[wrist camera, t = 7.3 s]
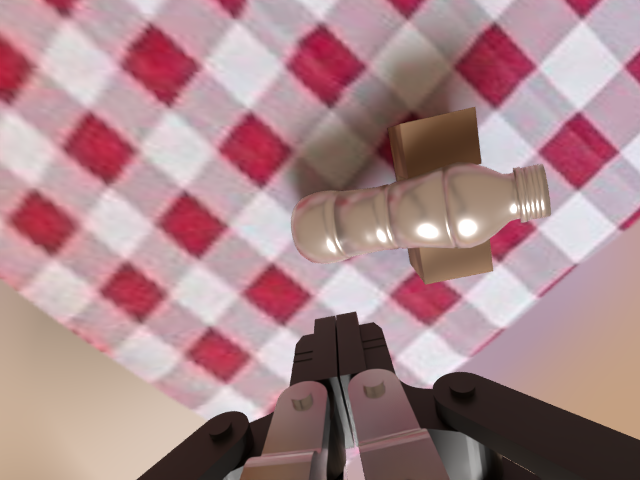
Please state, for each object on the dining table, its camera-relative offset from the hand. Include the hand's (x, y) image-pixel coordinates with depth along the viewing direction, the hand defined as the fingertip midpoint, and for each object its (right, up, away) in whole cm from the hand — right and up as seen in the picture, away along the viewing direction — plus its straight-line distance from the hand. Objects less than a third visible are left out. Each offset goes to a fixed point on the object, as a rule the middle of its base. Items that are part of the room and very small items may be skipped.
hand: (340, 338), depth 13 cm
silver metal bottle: (-3, +4, +22) cm, 22 cm away
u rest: (+10, +8, +23) cm, 27 cm away
